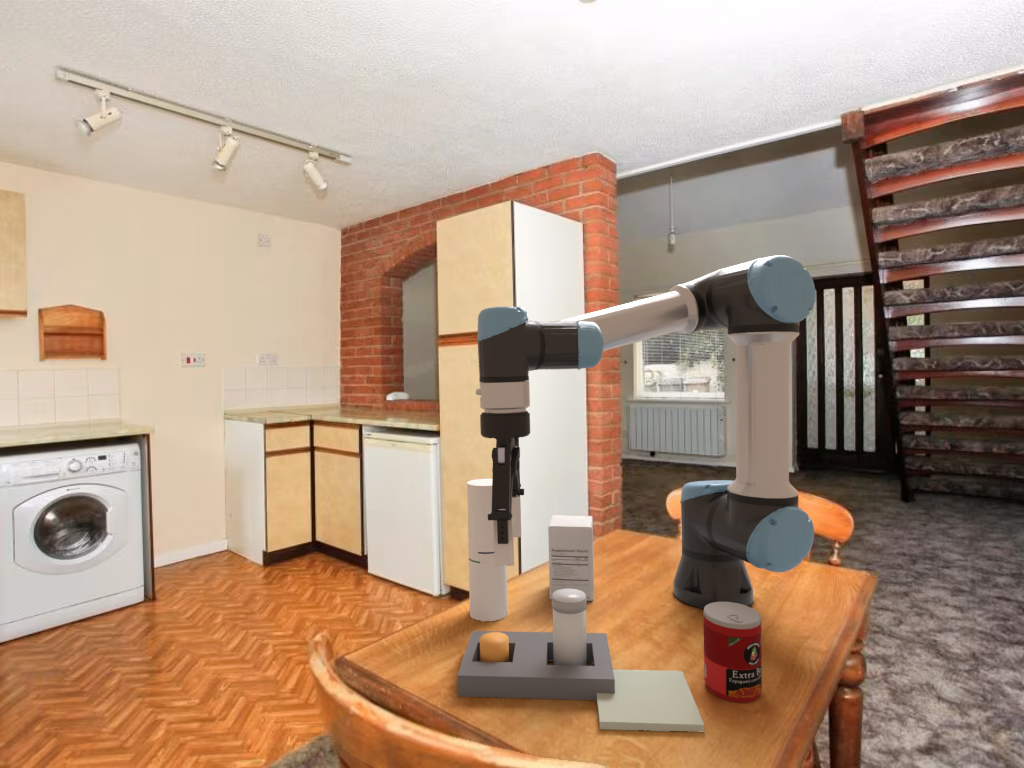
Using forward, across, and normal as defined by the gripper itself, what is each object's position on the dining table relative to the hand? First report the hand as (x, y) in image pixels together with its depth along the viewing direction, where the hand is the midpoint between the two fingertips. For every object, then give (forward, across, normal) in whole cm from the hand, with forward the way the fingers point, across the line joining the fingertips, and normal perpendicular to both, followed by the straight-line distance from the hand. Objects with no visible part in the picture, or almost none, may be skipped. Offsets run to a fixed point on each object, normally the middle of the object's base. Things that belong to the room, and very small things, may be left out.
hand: (509, 549), depth 88 cm
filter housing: (+19, 0, +4) cm, 19 cm away
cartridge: (+19, 0, +9) cm, 21 cm away
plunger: (+18, 0, -3) cm, 18 cm away
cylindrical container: (+19, -21, -6) cm, 29 cm away
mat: (+19, +7, +19) cm, 28 cm away
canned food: (+19, +3, +32) cm, 37 cm away
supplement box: (+19, -32, +10) cm, 38 cm away
